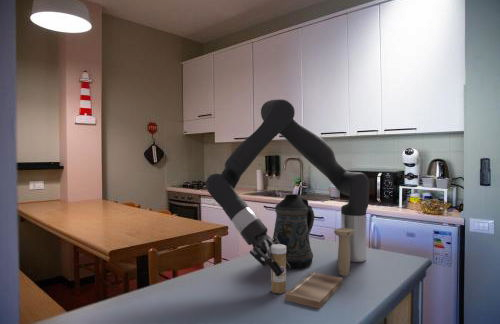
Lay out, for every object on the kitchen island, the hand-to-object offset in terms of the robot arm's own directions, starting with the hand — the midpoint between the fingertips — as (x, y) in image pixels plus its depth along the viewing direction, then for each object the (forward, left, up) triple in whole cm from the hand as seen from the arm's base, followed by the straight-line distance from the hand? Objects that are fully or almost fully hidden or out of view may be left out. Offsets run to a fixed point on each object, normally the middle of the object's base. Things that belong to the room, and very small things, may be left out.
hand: (284, 271), depth 98 cm
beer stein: (-27, -11, -6) cm, 30 cm away
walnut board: (-5, +7, -6) cm, 11 cm away
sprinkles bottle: (0, -2, -6) cm, 7 cm away
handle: (-23, +10, -6) cm, 26 cm away
